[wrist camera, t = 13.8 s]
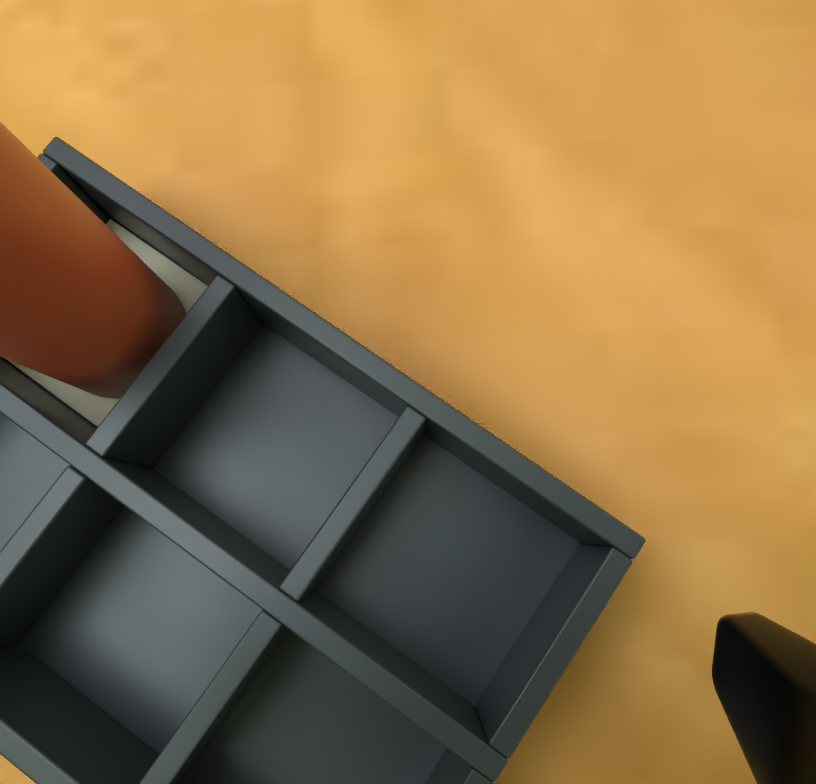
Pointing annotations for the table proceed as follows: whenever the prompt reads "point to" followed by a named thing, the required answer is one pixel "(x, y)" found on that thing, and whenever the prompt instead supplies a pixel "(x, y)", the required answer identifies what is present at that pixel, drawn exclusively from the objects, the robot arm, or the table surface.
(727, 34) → the table surface
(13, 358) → the reddish brown cylinder
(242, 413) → the grid
